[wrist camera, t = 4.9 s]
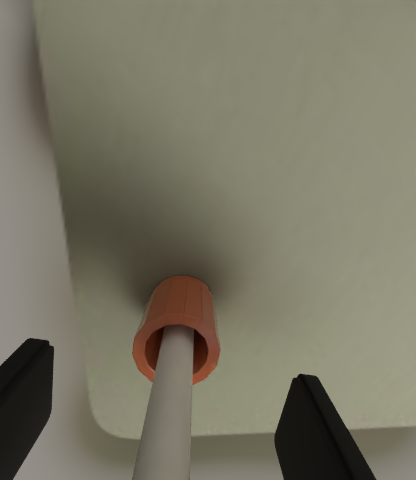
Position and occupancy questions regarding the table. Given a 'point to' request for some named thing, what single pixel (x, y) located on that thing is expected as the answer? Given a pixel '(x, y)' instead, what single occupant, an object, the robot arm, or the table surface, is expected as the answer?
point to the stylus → (169, 411)
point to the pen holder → (179, 312)
